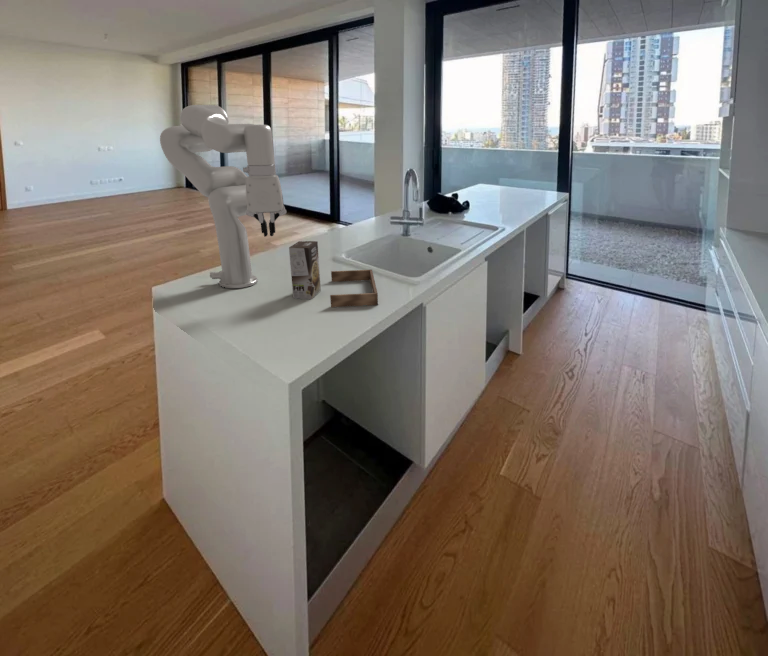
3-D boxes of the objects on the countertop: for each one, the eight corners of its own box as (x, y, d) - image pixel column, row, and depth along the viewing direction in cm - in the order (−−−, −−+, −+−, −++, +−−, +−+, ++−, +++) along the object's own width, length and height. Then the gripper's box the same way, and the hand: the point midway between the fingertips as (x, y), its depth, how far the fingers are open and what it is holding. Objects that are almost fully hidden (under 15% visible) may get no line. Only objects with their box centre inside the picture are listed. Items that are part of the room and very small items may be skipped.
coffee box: (312, 299, 152) (308, 247, 146) (292, 298, 153) (287, 247, 147) (321, 290, 160) (318, 240, 154) (302, 289, 162) (298, 240, 155)
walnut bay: (330, 307, 146) (330, 295, 144) (331, 281, 169) (331, 271, 168) (377, 304, 147) (377, 293, 145) (372, 279, 170) (371, 269, 169)
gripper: (231, 173, 138) (240, 239, 145) (288, 171, 139) (294, 237, 146) (236, 170, 145) (244, 233, 152) (290, 169, 146) (296, 232, 153)
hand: (268, 235), depth 149 cm, fingers closed
